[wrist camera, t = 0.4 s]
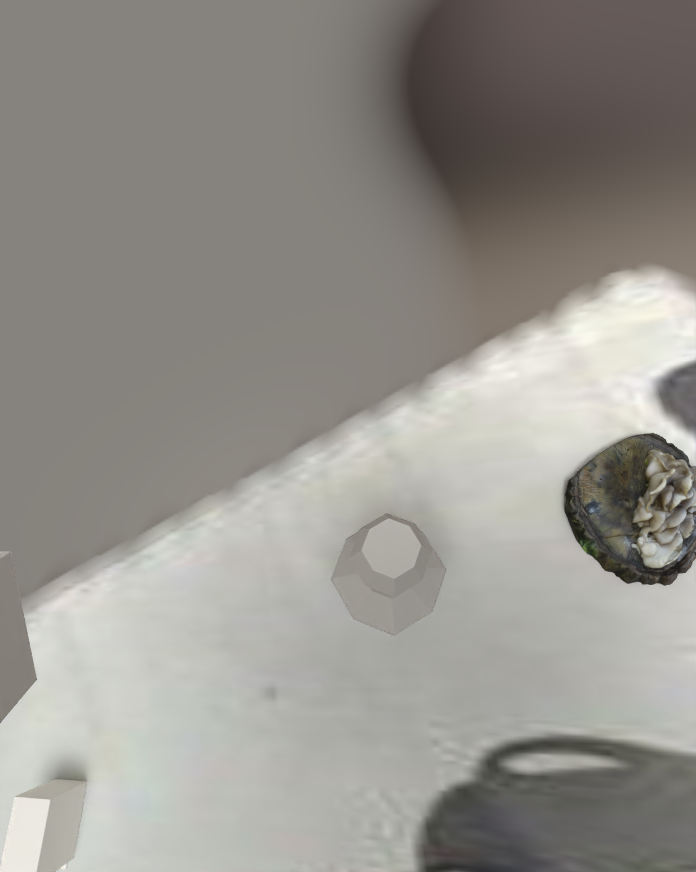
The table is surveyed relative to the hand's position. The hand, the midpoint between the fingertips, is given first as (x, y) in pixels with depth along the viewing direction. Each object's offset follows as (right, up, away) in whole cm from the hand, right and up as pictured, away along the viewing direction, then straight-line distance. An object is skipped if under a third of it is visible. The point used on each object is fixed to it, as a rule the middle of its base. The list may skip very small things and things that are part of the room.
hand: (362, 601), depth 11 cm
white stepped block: (-20, -27, +29) cm, 44 cm away
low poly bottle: (+3, -9, +33) cm, 35 cm away
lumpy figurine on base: (+22, -3, +35) cm, 41 cm away
